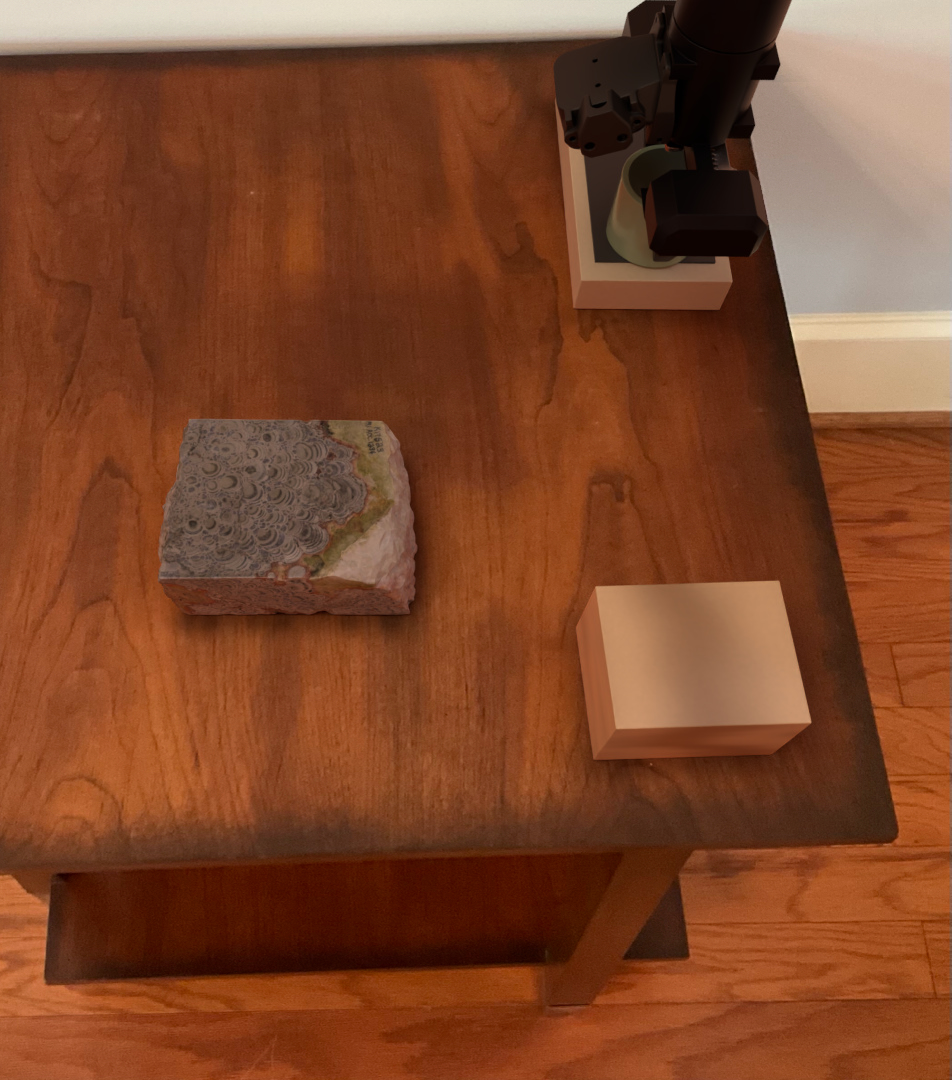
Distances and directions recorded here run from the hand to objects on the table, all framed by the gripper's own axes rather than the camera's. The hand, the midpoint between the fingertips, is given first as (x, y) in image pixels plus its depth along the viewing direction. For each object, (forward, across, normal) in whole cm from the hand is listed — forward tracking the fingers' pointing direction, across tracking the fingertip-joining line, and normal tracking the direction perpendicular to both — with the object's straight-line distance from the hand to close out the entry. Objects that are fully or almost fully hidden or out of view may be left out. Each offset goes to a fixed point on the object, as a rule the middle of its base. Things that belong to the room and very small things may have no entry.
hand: (655, 222), depth 72 cm
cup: (+1, 0, 0) cm, 1 cm away
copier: (+4, -6, 0) cm, 7 cm away
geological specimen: (+4, +22, -24) cm, 32 cm away
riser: (+4, +31, -1) cm, 32 cm away
